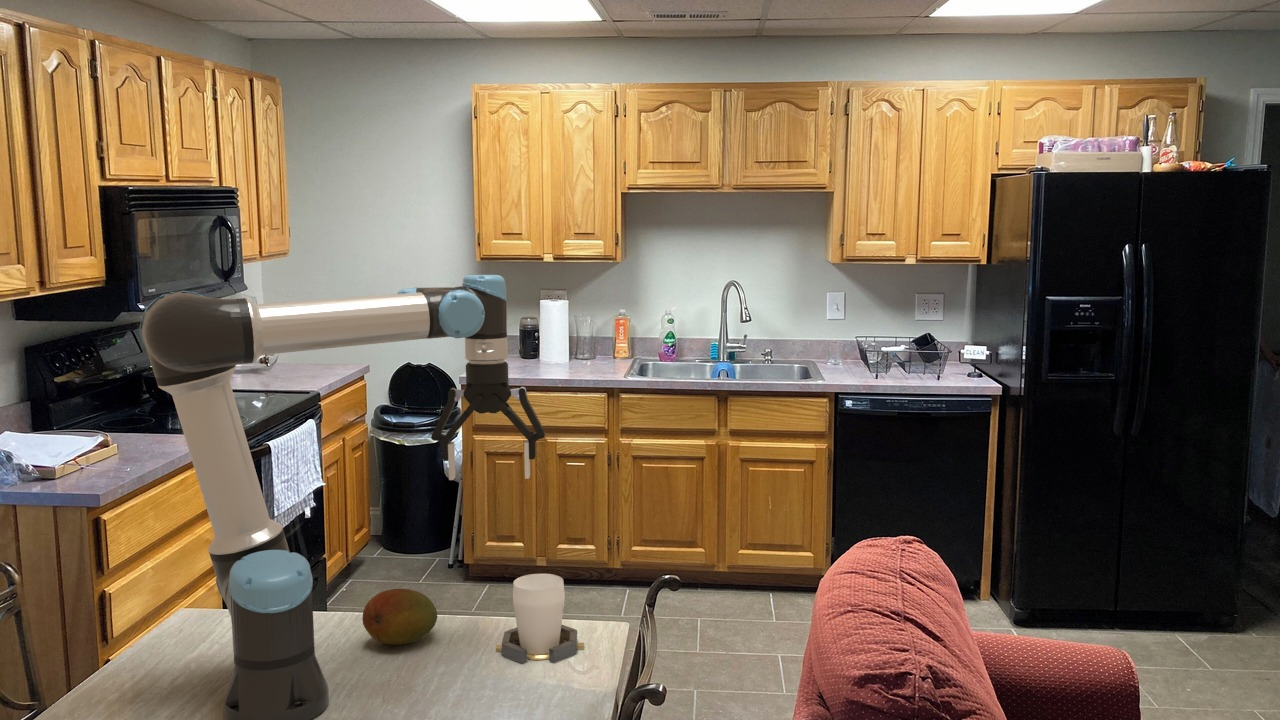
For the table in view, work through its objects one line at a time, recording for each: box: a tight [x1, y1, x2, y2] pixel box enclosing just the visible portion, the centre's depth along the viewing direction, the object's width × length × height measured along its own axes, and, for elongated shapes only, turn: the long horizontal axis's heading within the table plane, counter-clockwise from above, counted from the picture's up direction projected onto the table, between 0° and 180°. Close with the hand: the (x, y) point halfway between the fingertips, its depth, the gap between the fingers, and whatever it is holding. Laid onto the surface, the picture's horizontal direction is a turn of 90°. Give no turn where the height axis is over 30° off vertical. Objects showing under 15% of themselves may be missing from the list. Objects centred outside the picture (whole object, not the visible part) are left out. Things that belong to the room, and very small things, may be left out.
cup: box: [512, 573, 566, 655], centre depth 177 cm, size 9×9×12 cm
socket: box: [495, 624, 585, 665], centre depth 177 cm, size 15×13×2 cm
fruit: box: [362, 588, 438, 646], centre depth 181 cm, size 12×13×10 cm
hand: (490, 477), depth 183 cm, fingers open, 13 cm apart
